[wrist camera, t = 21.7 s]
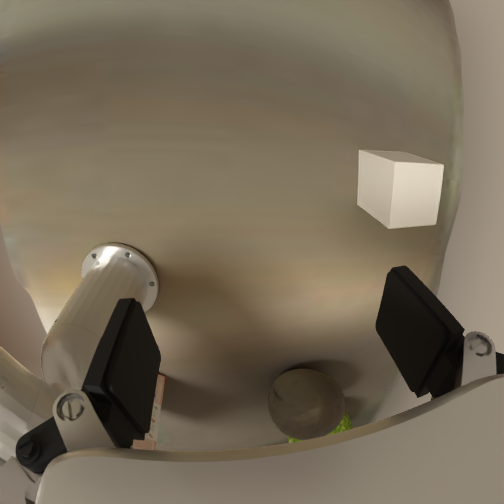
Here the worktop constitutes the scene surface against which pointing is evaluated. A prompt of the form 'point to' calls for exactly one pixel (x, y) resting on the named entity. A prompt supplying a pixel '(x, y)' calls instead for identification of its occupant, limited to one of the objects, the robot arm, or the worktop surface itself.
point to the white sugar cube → (399, 188)
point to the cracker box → (153, 419)
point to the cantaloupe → (306, 404)
